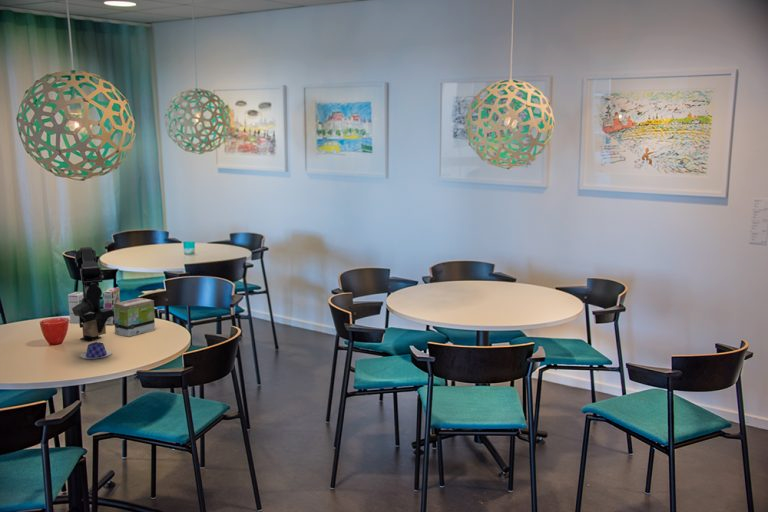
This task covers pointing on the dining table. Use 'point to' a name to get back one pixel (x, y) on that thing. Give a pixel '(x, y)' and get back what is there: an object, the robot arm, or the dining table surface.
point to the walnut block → (92, 329)
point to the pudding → (96, 351)
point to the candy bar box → (111, 302)
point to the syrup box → (73, 301)
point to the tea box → (134, 317)
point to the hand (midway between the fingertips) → (94, 331)
